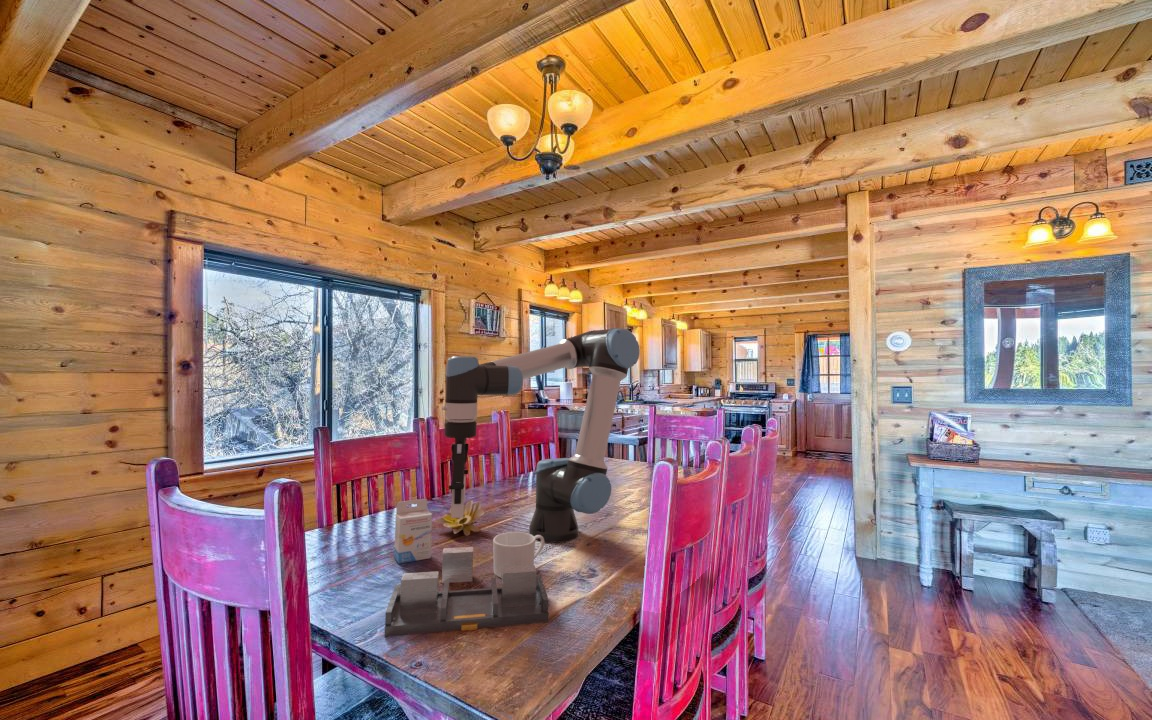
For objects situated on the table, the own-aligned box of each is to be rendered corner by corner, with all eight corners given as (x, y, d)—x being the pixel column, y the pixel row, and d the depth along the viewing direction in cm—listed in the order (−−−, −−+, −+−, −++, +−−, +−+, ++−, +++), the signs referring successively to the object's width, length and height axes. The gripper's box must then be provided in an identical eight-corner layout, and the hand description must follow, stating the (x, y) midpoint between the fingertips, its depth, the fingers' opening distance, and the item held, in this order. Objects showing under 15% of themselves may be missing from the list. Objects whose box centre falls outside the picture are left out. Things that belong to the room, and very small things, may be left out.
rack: (539, 592, 109) (540, 556, 109) (548, 623, 96) (549, 582, 96) (395, 603, 102) (396, 564, 103) (383, 638, 89) (385, 593, 89)
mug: (500, 583, 113) (501, 549, 113) (486, 566, 122) (487, 535, 123) (552, 573, 119) (552, 540, 119) (535, 558, 129) (536, 528, 129)
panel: (472, 575, 117) (473, 546, 117) (472, 581, 114) (473, 551, 114) (442, 577, 116) (443, 548, 116) (441, 583, 112) (442, 553, 113)
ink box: (398, 564, 122) (400, 506, 123) (393, 558, 127) (395, 502, 127) (431, 558, 127) (433, 502, 127) (426, 552, 131) (427, 497, 132)
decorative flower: (427, 522, 150) (436, 491, 152) (458, 524, 158) (466, 494, 159) (448, 539, 139) (458, 505, 140) (481, 540, 146) (490, 508, 148)
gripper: (447, 415, 127) (445, 495, 127) (440, 426, 103) (438, 526, 102) (476, 415, 129) (474, 494, 128) (476, 426, 104) (474, 524, 104)
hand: (458, 509), depth 115 cm, fingers open, 13 cm apart
